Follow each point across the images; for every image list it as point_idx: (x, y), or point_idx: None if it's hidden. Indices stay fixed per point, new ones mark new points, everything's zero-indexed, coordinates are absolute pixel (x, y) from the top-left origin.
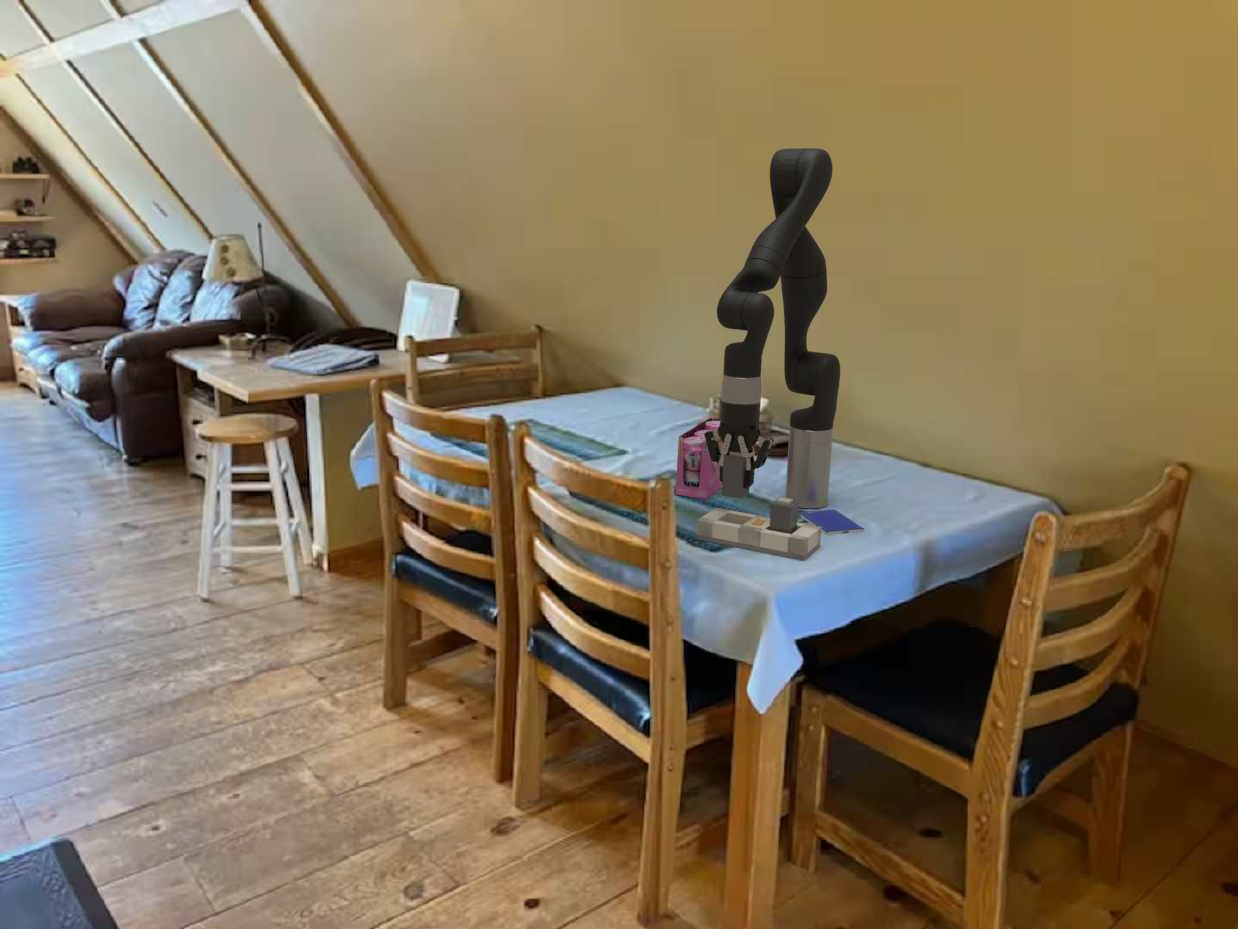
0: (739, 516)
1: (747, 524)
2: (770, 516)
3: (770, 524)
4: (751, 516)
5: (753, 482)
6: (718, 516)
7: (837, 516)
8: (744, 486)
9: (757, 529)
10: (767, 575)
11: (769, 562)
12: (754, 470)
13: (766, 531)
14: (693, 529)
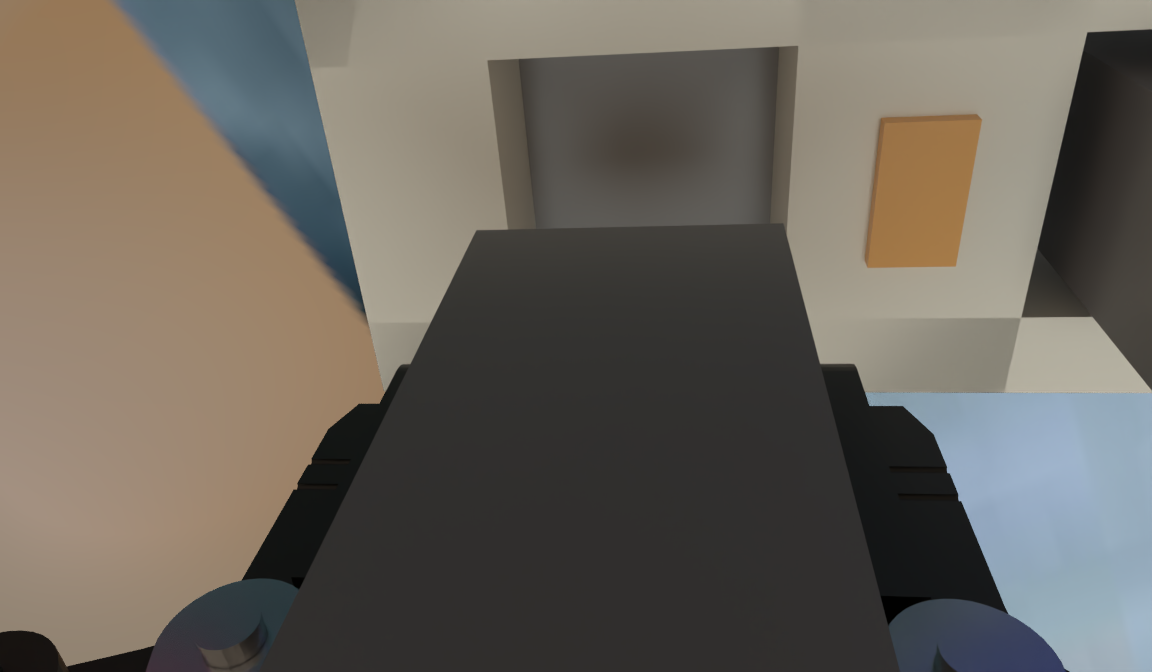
0: (628, 51)
1: (821, 282)
2: (1127, 355)
3: (1094, 307)
4: (766, 19)
5: (931, 449)
6: (473, 221)
7: None
8: None
9: (955, 356)
10: (1095, 597)
11: (1068, 432)
12: (1004, 608)
13: (1051, 360)
14: (267, 120)
